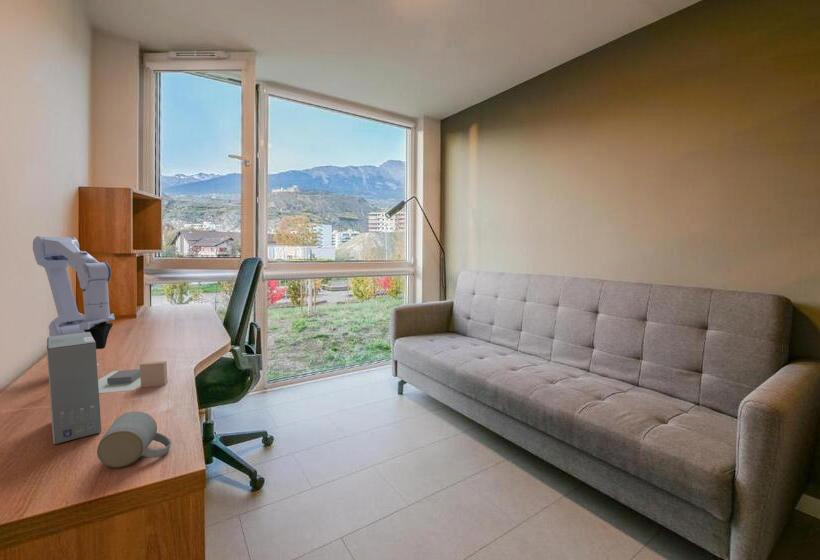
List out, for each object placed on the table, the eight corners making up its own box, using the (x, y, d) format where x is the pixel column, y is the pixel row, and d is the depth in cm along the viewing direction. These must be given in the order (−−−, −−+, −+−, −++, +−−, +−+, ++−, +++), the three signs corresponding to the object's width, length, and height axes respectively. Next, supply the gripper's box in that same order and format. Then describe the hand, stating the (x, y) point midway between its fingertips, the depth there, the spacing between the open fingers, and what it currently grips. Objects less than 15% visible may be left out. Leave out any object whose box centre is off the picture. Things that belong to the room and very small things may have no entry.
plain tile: (144, 386, 106) (142, 362, 106) (167, 384, 108) (166, 360, 107) (141, 388, 105) (139, 364, 104) (165, 386, 106) (163, 362, 105)
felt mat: (112, 372, 118) (112, 371, 118) (162, 368, 122) (162, 367, 122) (73, 396, 99) (73, 395, 99) (133, 391, 102) (133, 390, 102)
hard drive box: (102, 433, 79) (95, 342, 78) (53, 446, 74) (44, 349, 72) (96, 410, 91) (90, 330, 89) (53, 420, 85) (45, 335, 84)
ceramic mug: (94, 474, 65) (92, 432, 64) (112, 450, 72) (110, 413, 72) (165, 463, 69) (163, 423, 68) (175, 441, 76) (174, 405, 76)
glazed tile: (119, 370, 113) (107, 378, 106) (142, 369, 114) (131, 376, 107) (120, 377, 113) (107, 385, 106) (142, 375, 114) (131, 383, 108)
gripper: (99, 306, 103) (102, 354, 104) (124, 299, 117) (127, 341, 118) (68, 307, 101) (72, 356, 102) (97, 300, 115) (100, 342, 116)
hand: (99, 348), depth 110 cm, fingers closed
